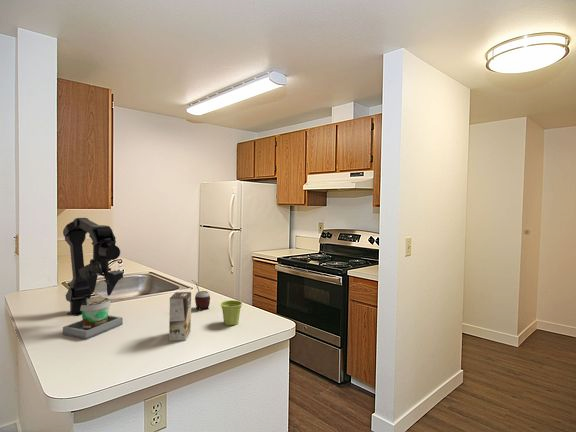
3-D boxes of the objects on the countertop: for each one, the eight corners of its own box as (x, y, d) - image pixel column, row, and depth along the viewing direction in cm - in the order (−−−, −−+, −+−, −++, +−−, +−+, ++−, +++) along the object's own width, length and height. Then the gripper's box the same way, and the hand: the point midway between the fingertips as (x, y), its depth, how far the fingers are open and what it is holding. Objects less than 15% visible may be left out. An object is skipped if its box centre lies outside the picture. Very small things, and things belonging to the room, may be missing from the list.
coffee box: (186, 340, 130) (186, 298, 129) (168, 341, 130) (169, 298, 129) (191, 331, 139) (191, 291, 139) (174, 331, 139) (175, 291, 138)
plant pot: (215, 325, 147) (216, 304, 146) (227, 318, 156) (227, 299, 155) (235, 328, 144) (235, 307, 143) (245, 321, 152) (246, 301, 152)
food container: (92, 333, 133) (92, 307, 133) (80, 330, 135) (80, 305, 134) (117, 322, 145) (117, 298, 144) (105, 320, 147) (105, 297, 146)
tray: (62, 334, 133) (62, 327, 133) (100, 320, 149) (100, 313, 149) (86, 339, 129) (86, 331, 129) (122, 324, 145) (122, 317, 145)
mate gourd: (211, 307, 171) (212, 276, 170) (206, 312, 163) (206, 280, 162) (197, 306, 172) (197, 276, 171) (191, 311, 164) (191, 279, 163)
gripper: (66, 257, 139) (66, 295, 140) (100, 262, 133) (100, 302, 134) (91, 253, 150) (90, 289, 151) (124, 257, 143) (123, 295, 144)
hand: (100, 293), depth 144 cm, fingers open, 9 cm apart
